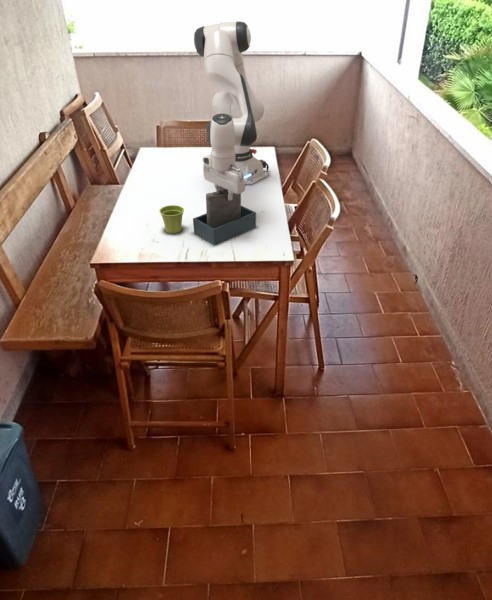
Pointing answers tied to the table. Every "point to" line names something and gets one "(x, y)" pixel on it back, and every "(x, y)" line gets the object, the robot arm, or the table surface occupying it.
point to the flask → (222, 208)
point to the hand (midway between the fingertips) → (224, 197)
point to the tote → (224, 227)
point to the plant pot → (172, 218)
